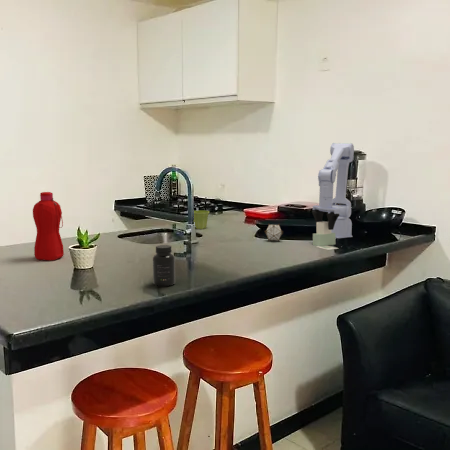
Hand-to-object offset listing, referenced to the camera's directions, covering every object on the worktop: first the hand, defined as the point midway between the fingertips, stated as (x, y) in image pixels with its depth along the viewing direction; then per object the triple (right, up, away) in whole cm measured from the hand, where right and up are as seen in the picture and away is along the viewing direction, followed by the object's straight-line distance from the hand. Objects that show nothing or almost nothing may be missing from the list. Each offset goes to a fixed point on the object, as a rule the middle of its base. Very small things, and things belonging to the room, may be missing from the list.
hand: (324, 228), depth 222 cm
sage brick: (0, -7, +1) cm, 7 cm away
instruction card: (0, -8, -5) cm, 9 cm away
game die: (-21, -6, +9) cm, 24 cm away
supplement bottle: (-62, -17, -63) cm, 90 cm away
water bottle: (-109, -11, -30) cm, 113 cm away
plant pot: (-56, 0, +43) cm, 70 cm away
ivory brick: (0, -2, 0) cm, 2 cm away
